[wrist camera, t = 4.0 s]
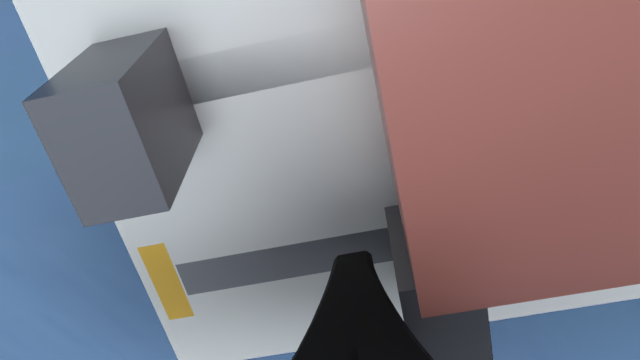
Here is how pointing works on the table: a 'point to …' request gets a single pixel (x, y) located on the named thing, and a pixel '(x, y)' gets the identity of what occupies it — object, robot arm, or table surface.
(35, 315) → the table surface
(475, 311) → the handle
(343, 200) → the breaker panel
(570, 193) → the reddish pink block
